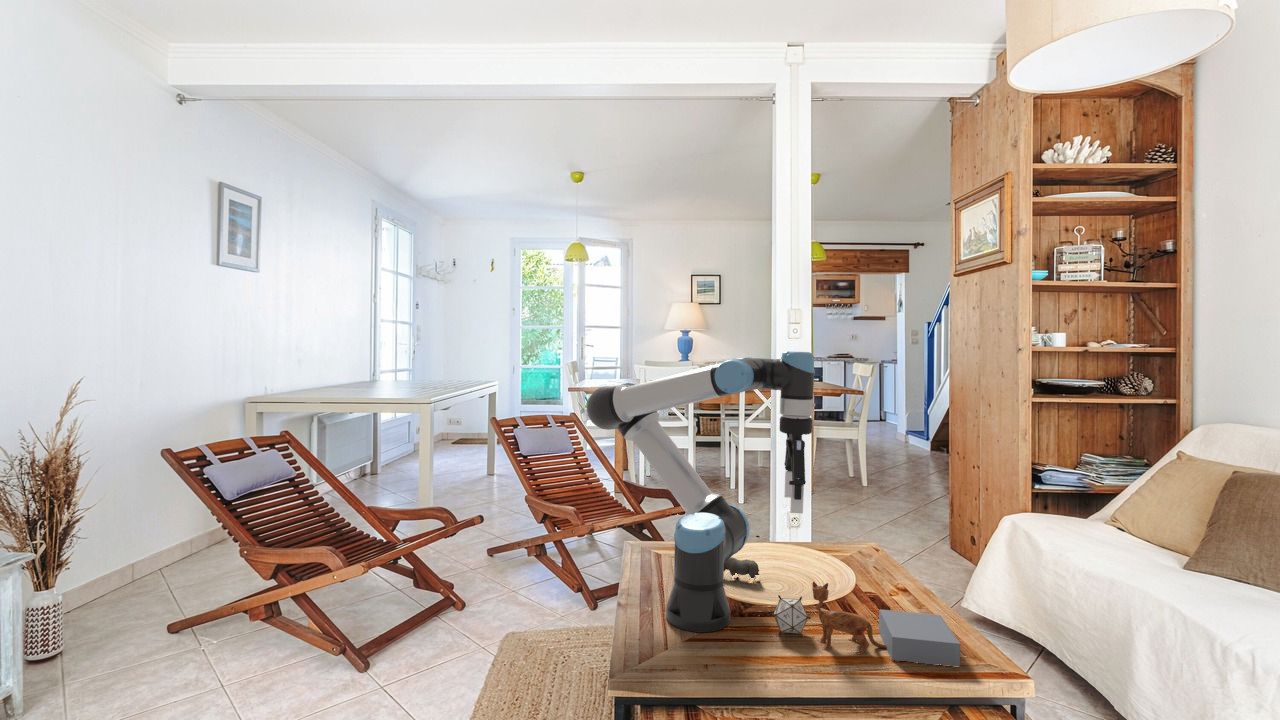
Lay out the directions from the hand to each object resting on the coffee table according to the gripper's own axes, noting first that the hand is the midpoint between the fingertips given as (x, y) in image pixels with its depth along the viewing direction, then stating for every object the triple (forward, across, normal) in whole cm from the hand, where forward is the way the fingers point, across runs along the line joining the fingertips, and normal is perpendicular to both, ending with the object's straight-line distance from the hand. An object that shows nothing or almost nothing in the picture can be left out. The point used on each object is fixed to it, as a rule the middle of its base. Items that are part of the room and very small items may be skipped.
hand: (793, 504), depth 143 cm
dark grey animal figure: (+27, +19, +13) cm, 36 cm away
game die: (+27, -10, +1) cm, 28 cm away
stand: (+26, -12, -26) cm, 39 cm away
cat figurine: (+27, -13, -12) cm, 32 cm away
